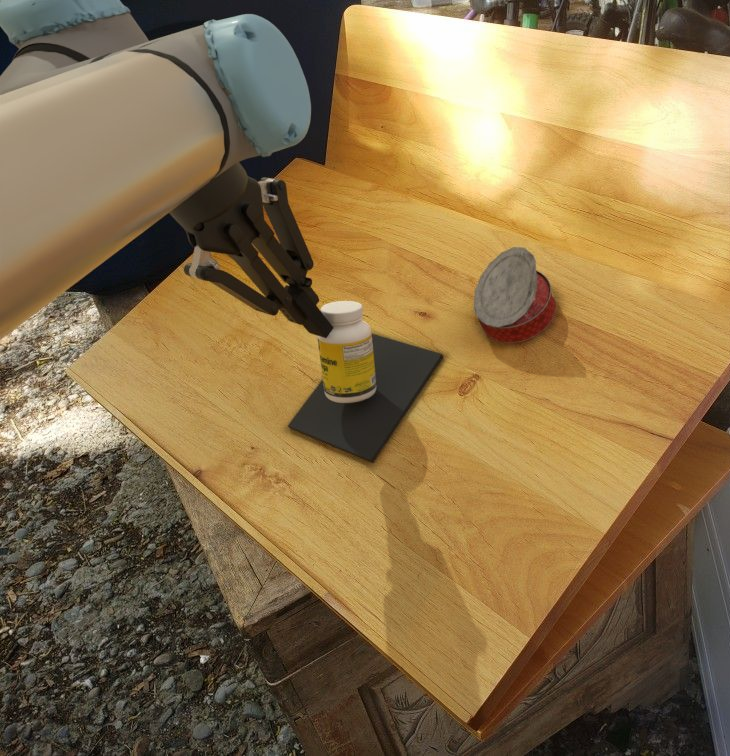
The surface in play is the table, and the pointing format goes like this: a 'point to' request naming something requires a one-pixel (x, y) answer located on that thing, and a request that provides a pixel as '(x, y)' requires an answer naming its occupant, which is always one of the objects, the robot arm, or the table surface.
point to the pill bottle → (347, 354)
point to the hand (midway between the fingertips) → (321, 330)
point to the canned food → (514, 298)
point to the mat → (370, 401)
